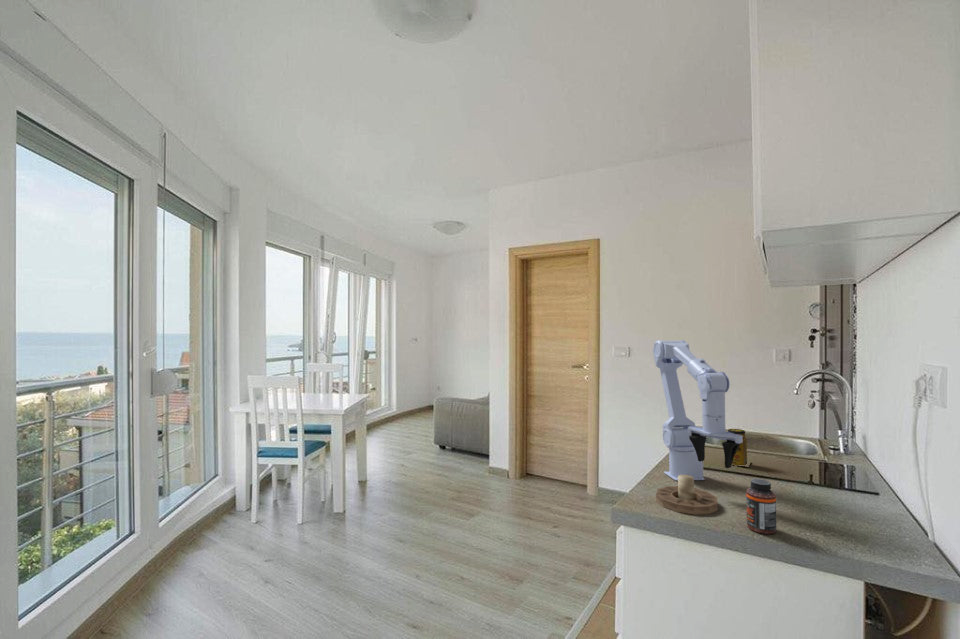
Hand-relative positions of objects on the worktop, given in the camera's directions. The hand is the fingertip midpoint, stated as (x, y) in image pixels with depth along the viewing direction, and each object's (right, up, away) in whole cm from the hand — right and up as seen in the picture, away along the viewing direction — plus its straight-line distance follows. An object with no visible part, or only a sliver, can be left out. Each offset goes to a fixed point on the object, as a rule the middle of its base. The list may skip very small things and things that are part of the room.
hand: (714, 464), depth 126 cm
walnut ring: (-10, -9, -4) cm, 14 cm away
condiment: (+25, -10, +32) cm, 42 cm away
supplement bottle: (0, -9, -20) cm, 22 cm away
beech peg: (-10, -9, -4) cm, 14 cm away
